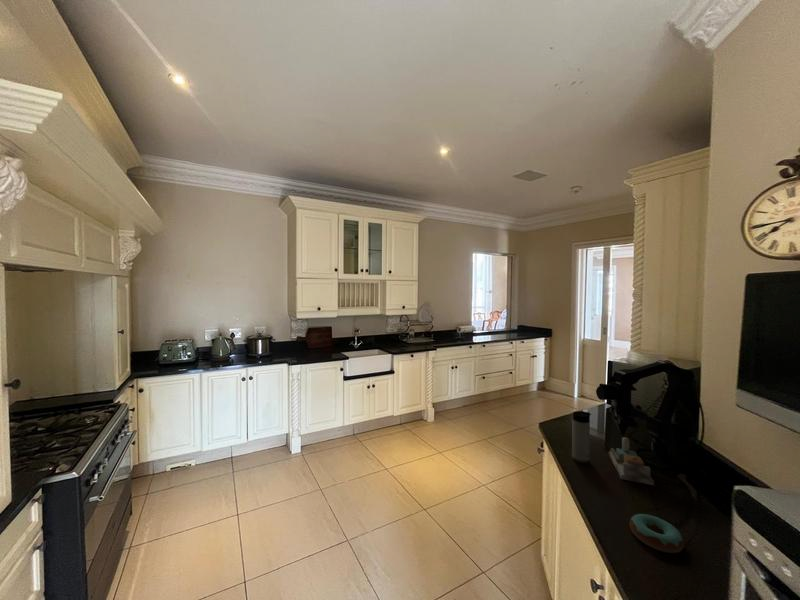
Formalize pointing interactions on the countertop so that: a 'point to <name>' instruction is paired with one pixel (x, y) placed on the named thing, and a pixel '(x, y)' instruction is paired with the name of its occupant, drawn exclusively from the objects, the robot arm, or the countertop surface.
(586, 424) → the travel mug
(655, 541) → the donut
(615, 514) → the countertop surface
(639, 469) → the frame
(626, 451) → the ram
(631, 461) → the box
